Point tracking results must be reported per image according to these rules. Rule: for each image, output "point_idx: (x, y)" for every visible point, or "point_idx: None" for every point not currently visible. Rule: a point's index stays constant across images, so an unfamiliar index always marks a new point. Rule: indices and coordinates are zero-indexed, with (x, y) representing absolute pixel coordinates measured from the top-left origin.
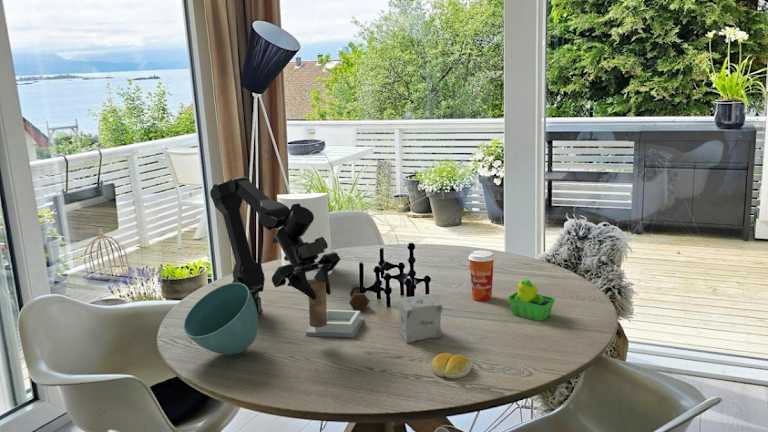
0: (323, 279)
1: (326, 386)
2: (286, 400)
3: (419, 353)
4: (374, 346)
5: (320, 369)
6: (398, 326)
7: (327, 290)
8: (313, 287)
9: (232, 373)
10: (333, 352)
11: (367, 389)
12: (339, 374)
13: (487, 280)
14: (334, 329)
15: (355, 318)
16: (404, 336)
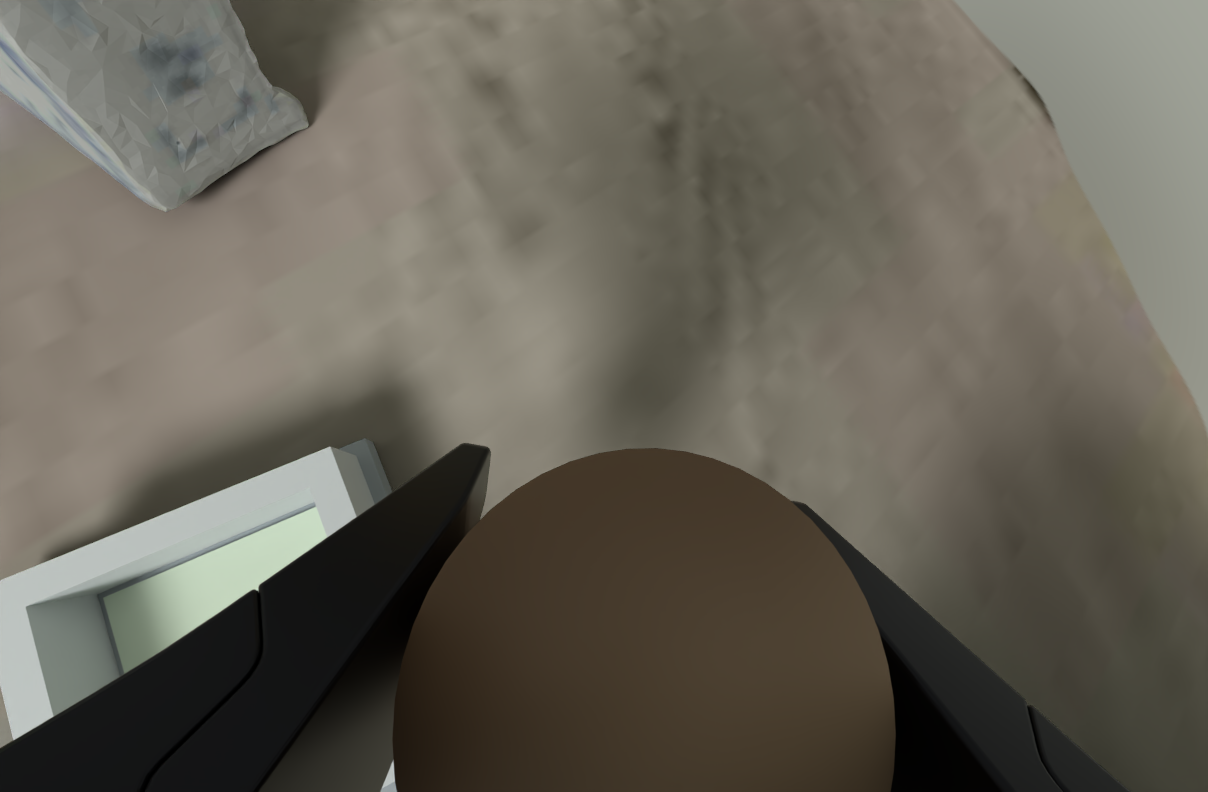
0: (336, 738)
1: (908, 203)
2: (1085, 266)
3: (401, 24)
4: (433, 253)
5: (814, 328)
6: (159, 191)
7: (475, 507)
8: (851, 603)
9: (1135, 707)
10: (622, 403)
11: (822, 56)
12: (796, 220)
13: None
14: None
15: (184, 506)
16: (268, 129)
